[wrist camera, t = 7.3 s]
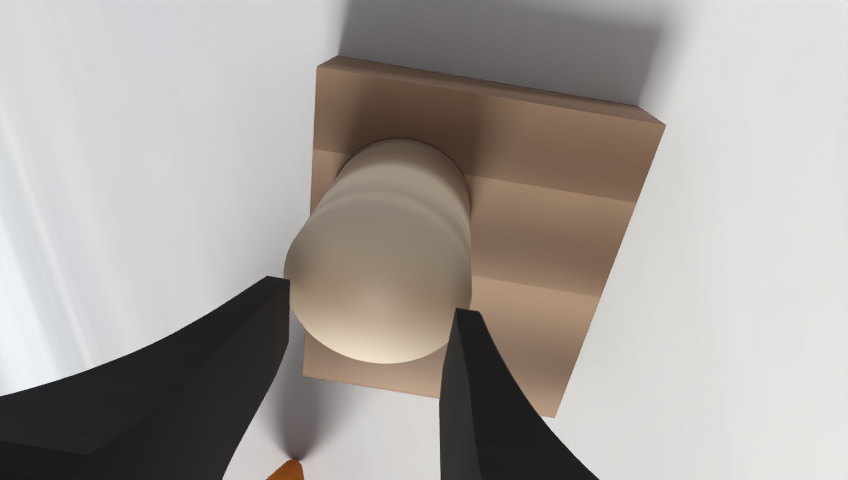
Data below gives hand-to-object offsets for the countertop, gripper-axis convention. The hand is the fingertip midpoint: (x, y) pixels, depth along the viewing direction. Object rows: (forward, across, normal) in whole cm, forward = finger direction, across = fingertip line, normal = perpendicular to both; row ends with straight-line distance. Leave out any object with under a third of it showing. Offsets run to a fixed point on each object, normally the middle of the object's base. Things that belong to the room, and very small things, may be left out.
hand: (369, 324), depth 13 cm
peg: (+10, 0, 0) cm, 10 cm away
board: (+10, -2, +2) cm, 10 cm away
